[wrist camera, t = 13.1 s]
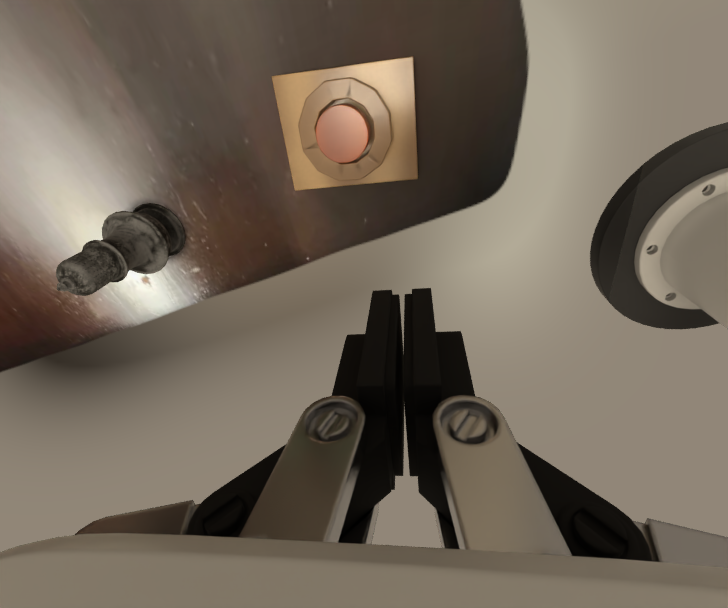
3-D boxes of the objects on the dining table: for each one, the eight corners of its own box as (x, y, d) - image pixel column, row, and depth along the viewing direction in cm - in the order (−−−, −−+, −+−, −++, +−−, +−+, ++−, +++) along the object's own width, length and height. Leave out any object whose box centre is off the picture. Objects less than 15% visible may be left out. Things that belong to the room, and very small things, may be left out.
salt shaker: (167, 192, 33) (61, 240, 23) (199, 251, 36) (117, 316, 26) (115, 209, 35) (-6, 261, 24) (150, 264, 37) (54, 331, 27)
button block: (412, 58, 26) (413, 54, 23) (417, 173, 30) (418, 184, 27) (280, 76, 28) (262, 75, 24) (301, 184, 32) (288, 196, 28)
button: (367, 100, 25) (365, 101, 23) (373, 156, 27) (371, 160, 25) (316, 106, 25) (310, 108, 24) (325, 161, 27) (320, 165, 26)
